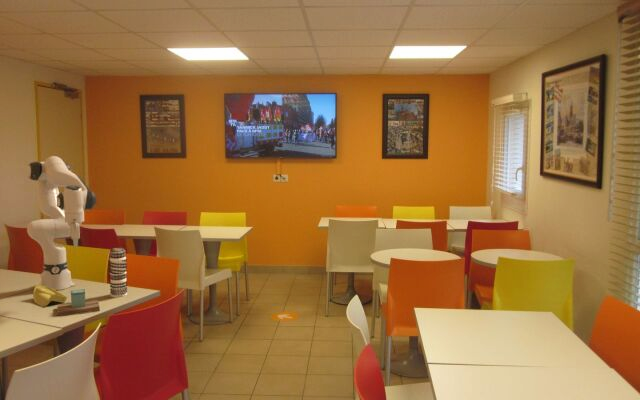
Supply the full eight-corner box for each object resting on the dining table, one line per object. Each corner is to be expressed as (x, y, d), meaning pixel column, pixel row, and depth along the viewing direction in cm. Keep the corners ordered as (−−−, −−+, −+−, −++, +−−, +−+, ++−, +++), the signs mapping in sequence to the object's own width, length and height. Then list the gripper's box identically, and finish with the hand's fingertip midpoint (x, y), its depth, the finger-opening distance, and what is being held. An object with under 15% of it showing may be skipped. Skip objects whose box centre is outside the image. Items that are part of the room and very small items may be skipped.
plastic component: (69, 297, 255) (50, 293, 247) (62, 311, 253) (43, 307, 246) (51, 288, 267) (33, 283, 259) (45, 301, 265) (27, 297, 258)
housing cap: (71, 304, 244) (70, 290, 244) (84, 302, 247) (84, 289, 246) (71, 308, 239) (71, 293, 238) (85, 306, 242) (84, 292, 241)
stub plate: (57, 308, 245) (57, 294, 244) (97, 303, 253) (97, 289, 252) (57, 316, 233) (56, 301, 233) (99, 310, 242) (99, 296, 241)
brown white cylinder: (123, 291, 275) (122, 246, 273) (131, 294, 269) (129, 248, 266) (106, 294, 269) (105, 248, 266) (114, 298, 262) (112, 251, 260)
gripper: (82, 220, 243) (83, 248, 245) (80, 215, 261) (81, 241, 263) (67, 221, 240) (68, 249, 242) (67, 216, 258) (68, 242, 260)
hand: (75, 245), depth 252 cm, fingers open, 8 cm apart
